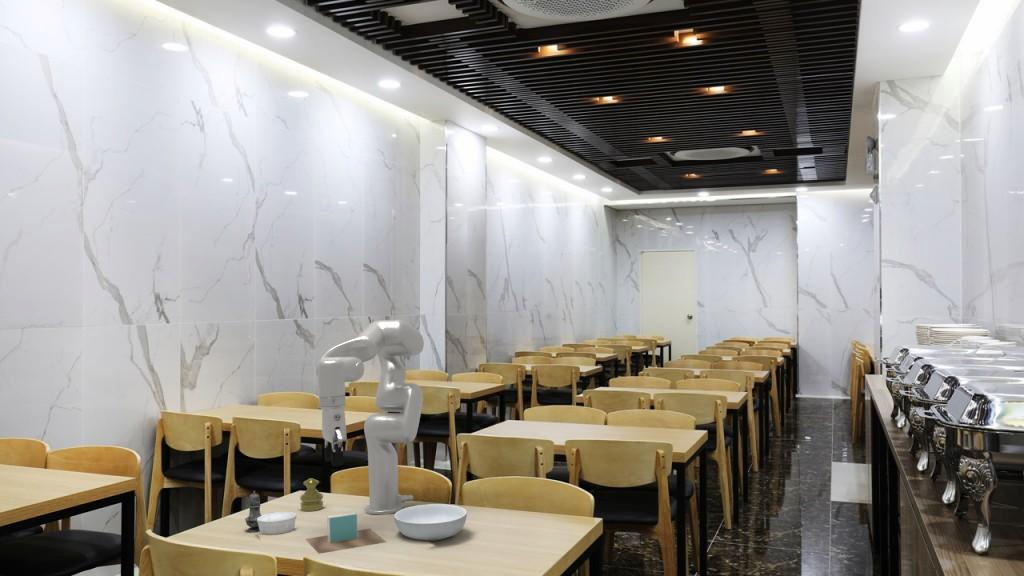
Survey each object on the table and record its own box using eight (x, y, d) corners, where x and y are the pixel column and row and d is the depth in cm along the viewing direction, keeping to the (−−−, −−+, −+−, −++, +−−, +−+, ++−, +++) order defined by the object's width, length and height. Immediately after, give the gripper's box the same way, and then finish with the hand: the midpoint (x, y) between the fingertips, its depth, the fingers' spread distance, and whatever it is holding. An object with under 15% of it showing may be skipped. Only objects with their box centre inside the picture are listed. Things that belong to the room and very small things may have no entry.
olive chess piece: (305, 506, 275) (304, 476, 275) (326, 505, 274) (325, 476, 274) (296, 511, 268) (296, 481, 268) (318, 511, 267) (317, 481, 267)
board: (369, 532, 240) (369, 528, 240) (387, 546, 226) (386, 541, 226) (305, 543, 231) (305, 538, 231) (318, 558, 217) (318, 553, 217)
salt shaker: (259, 532, 244) (258, 492, 244) (241, 532, 245) (240, 492, 245) (268, 527, 250) (267, 488, 250) (251, 527, 251) (250, 488, 251)
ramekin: (250, 535, 242) (249, 517, 242) (283, 526, 250) (283, 509, 250) (270, 541, 235) (269, 523, 235) (303, 532, 243) (303, 515, 243)
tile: (355, 536, 232) (355, 512, 232) (357, 538, 230) (357, 513, 230) (327, 541, 228) (327, 516, 228) (329, 543, 226) (329, 517, 226)
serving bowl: (410, 552, 220) (409, 526, 220) (385, 533, 238) (384, 510, 238) (479, 539, 229) (478, 515, 230) (450, 522, 248) (449, 500, 248)
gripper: (353, 403, 230) (355, 466, 230) (337, 398, 246) (339, 457, 245) (326, 406, 227) (328, 469, 226) (312, 400, 242) (314, 460, 242)
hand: (334, 462), depth 236 cm, fingers open, 7 cm apart
